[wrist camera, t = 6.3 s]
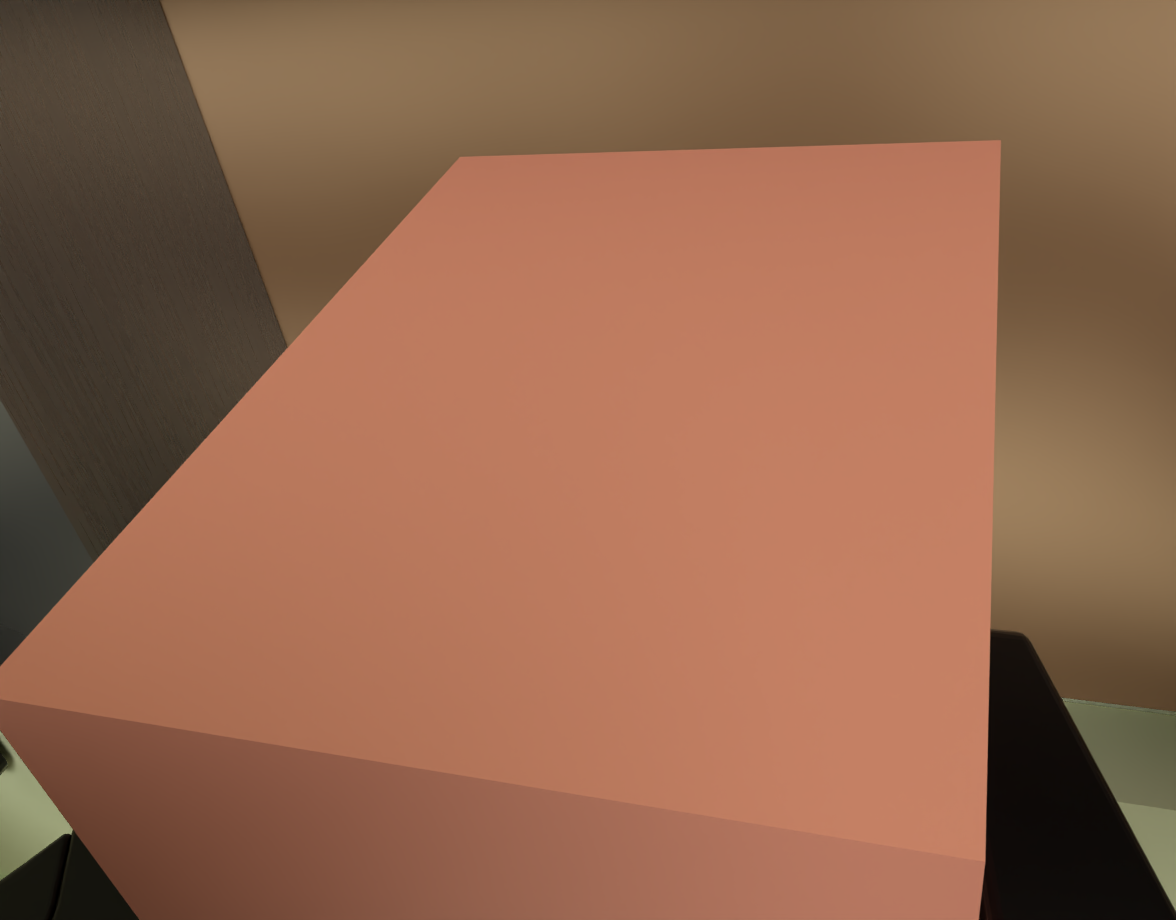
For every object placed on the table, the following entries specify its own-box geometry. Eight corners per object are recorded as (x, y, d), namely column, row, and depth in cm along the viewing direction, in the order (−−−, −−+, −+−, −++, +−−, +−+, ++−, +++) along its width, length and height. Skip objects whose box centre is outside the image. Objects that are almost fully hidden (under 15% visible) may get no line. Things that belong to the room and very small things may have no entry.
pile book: (1335, 1032, 21) (1361, 1157, 19) (669, 899, 25) (646, 993, 23) (1505, 730, 15) (1563, 868, 14) (620, 622, 20) (584, 721, 18)
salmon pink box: (951, 779, 12) (917, 1443, 8) (592, 727, 13) (397, 1272, 9) (1001, 140, 7) (985, 863, 3) (459, 156, 9) (-27, 695, 5)
